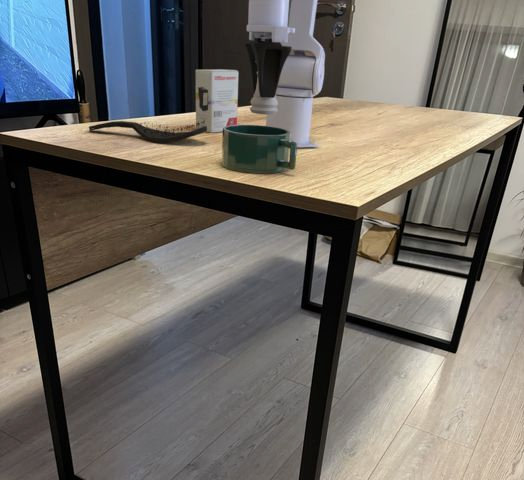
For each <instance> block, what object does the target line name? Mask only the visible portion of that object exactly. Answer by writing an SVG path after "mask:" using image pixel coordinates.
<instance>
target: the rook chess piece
mask: <svg viewBox="0 0 524 480" xmlns="http://www.w3.org/2000/svg"><path fill="white" fill-rule="evenodd" d="M257 74H258V71H257ZM250 104H251V107H249V110H250V112H251V113H253V114H257V115H267V114H276V112H277V111H278V110H277V109H276V106H277V105H278V102H277V100H276V99H275V97H274V98H266V97H260V93H259V84H258V79H257V86H256V91H255V94H254V93H253V97H252V98H251V99H250Z"/></svg>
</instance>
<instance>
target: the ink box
mask: <svg viewBox="0 0 524 480" xmlns="http://www.w3.org/2000/svg"><path fill="white" fill-rule="evenodd" d="M238 99H239V71H238V70H237V69H195V130H197V129H198V128H201V126H202V127H205V126H207V131H206V133H211V134H212V133H220V132H221V133H222V132H223V127H225V126H230V125H238V104H239V103H238ZM204 120H205V124H203V122H202V121H204ZM197 122H198V123H200V125H197V126H196V124H197ZM201 122H202V123H201ZM202 124H203V125H202ZM196 127H197V128H196Z"/></svg>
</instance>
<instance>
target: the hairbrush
mask: <svg viewBox="0 0 524 480" xmlns="http://www.w3.org/2000/svg"><path fill="white" fill-rule="evenodd" d="M202 122H203V124H205V120H204V121H202ZM202 122H201V123H202ZM149 124H150V123H149V122H148V123H147V124H146V122H145V121H144V125H143V124H142V122H140V123H138V122H134V121H124V120H117V121H116V120H115V121H109V122H103V123H98V124H95V125H90V126H88V129H89V132H92V131H97V130H101V129H109V128H127V129H132V130H134V132H136V133H137V134H138V135H139V136H140V137H141V138H143V139H144V140H146V141H148V142H151V143H158V144H166V143H168V144H169V143H176V142H179V141H180V142H181V141H182V140H186V139H189V138H191V137H195V136H198V135H201V134H203V133H205V132H206V131H207V126H205V127H202V126H201V128H198V129H197V130H196V128H197V127H196V126H197V125H200V123H198V122H197V124H196V123H195V124H190V125H186V126H184V125H183V126H179V127H178V126H171V127H170V126H169V125H167V126H165V125H164V127H163V128H162V125H161V124H159V125H158V123H156V125H155V126H158V127H155V128H152V126H154V124H153V123H151V124H150V125H149ZM203 124H202V125H203ZM148 125H149V126H148ZM158 128H159V129H158ZM160 129H162V130H160ZM189 129H190V131H186V130H189ZM179 131H180V132H179ZM206 133H207V132H206Z"/></svg>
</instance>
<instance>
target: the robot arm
mask: <svg viewBox="0 0 524 480" xmlns="http://www.w3.org/2000/svg"><path fill="white" fill-rule="evenodd" d="M289 5H290V6H289ZM317 6H318V0H291V3H290V0H248V17H247V18H248V19H247V23H248V24H246V32H248V33H249V35H248V40H249V41H251V42H250V43H248V42H243V43H242V47H243V49H244V52H245V55H246V58H247V61H248V65H249V71H250V78H251V85H252V92H253V95H254V94H255V91H256V86H257V79H258V84H259V93H260V97H266V98H274V97H275V99H276V100H277V102H278V105H277V106H276V109H277V110H278V111H277V112H276V114H265V115H266V117H265V126H271V127H278V128H283V129H286V130H289V131H290V132H291V137H290V141H293V142H296V143H297V149H298V148H299V149H300V148H317V147H318V143H314V142H311V141H310V135H311V127H312V126H311V124H312V114H313V104H314V97H316V96H317V95H318V94H319V93H321V91H322V88H323V84H324V79H325V62H326V53H325V49H324V48H323V46H322V45H321V44H320V42H319V41H317V39H315V37H314V30H315V22H316V15H317V8H318V7H317ZM289 7H290V11H289ZM257 71H258V74H257Z"/></svg>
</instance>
